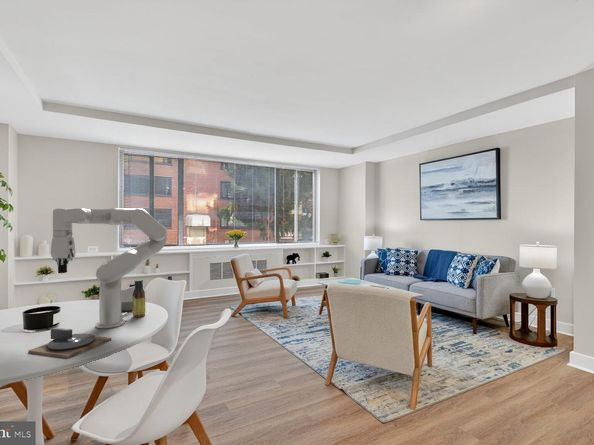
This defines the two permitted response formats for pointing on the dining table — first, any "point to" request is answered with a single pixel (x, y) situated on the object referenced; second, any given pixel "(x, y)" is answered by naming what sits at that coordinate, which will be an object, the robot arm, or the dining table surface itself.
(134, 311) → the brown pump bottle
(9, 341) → the dining table surface
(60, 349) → the dial
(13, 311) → the dining table surface
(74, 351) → the dial base plate
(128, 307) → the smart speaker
